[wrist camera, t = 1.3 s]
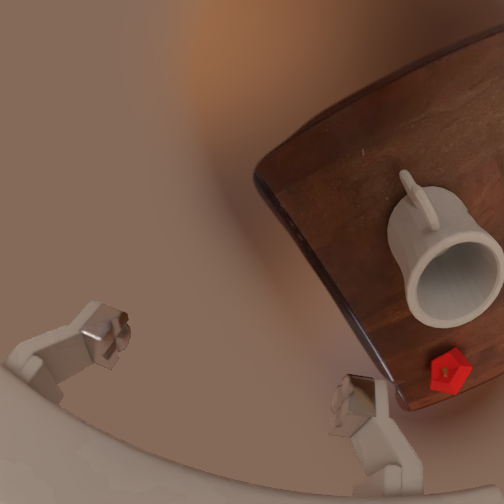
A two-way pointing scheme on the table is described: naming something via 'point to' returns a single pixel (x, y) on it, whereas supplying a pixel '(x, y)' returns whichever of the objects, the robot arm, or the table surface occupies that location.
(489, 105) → the table surface
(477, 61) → the table surface
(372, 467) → the robot arm
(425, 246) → the mug
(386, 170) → the table surface
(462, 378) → the apple
